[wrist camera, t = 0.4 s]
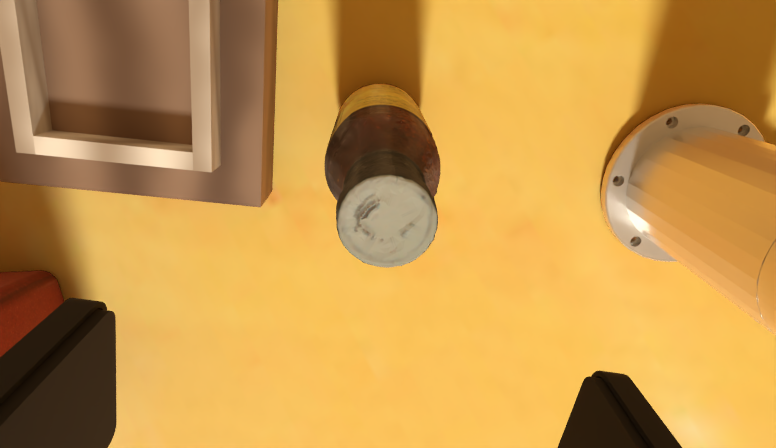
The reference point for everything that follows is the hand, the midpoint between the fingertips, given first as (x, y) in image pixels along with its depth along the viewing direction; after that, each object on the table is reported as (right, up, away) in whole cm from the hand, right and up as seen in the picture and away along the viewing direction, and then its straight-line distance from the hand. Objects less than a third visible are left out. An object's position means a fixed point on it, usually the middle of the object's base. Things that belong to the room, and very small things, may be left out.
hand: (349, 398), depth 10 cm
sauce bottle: (0, +11, +28) cm, 30 cm away
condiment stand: (-16, +15, +26) cm, 34 cm away
